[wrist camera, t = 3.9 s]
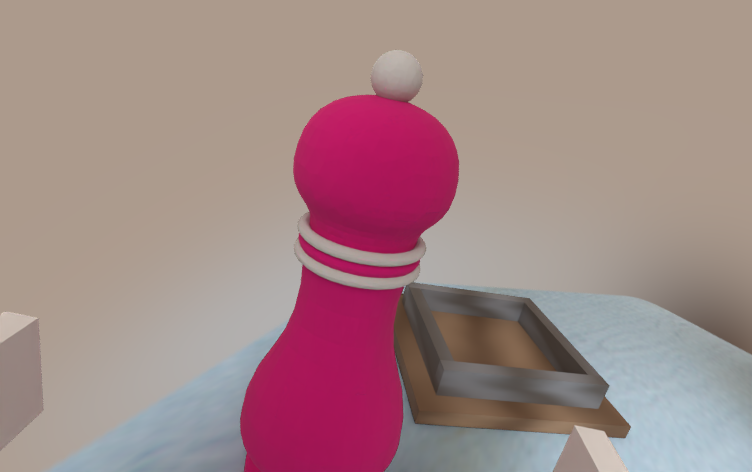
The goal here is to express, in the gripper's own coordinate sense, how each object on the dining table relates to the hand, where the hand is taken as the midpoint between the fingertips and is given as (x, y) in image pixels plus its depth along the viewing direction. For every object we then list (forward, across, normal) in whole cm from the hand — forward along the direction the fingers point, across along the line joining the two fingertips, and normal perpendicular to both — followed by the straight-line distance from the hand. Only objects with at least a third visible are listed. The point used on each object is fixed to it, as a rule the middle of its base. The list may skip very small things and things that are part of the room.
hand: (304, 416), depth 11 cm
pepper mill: (+7, 0, -11) cm, 13 cm away
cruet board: (+22, +12, -11) cm, 27 cm away
